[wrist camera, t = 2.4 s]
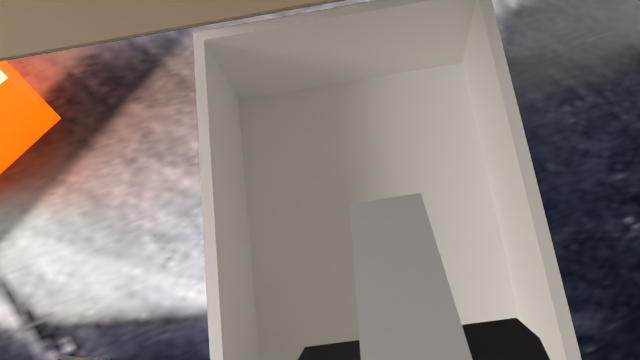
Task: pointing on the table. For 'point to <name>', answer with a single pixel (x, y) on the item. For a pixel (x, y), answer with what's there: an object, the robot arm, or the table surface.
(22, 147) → the orange juice
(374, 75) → the box
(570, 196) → the table surface
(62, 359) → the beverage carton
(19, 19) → the mailer lid
